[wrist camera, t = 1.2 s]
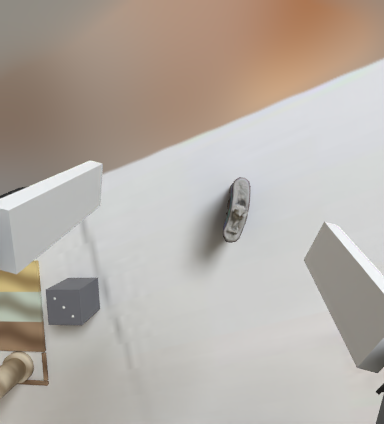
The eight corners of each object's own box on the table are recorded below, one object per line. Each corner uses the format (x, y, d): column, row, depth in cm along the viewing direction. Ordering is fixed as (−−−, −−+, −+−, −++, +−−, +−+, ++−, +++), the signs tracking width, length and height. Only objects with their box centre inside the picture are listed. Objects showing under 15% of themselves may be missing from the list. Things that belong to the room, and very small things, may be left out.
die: (100, 308, 45) (81, 325, 39) (70, 308, 46) (48, 324, 40) (97, 277, 45) (78, 289, 39) (68, 277, 46) (45, 289, 40)
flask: (231, 180, 41) (235, 174, 30) (248, 183, 41) (258, 178, 30) (221, 232, 42) (221, 244, 31) (238, 236, 41) (243, 249, 31)
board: (48, 384, 48) (46, 385, 47) (-5, 381, 49) (-7, 383, 49) (38, 260, 46) (36, 261, 46) (-17, 261, 48) (-19, 262, 47)
